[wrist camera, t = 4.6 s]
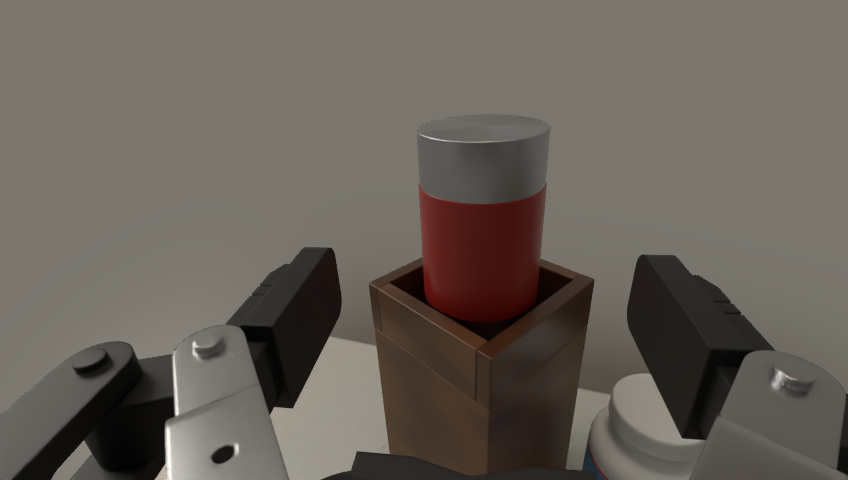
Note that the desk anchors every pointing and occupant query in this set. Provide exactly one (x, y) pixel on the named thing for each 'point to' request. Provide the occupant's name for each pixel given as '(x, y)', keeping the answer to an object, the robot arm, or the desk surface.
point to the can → (482, 217)
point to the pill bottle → (638, 437)
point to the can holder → (480, 375)
